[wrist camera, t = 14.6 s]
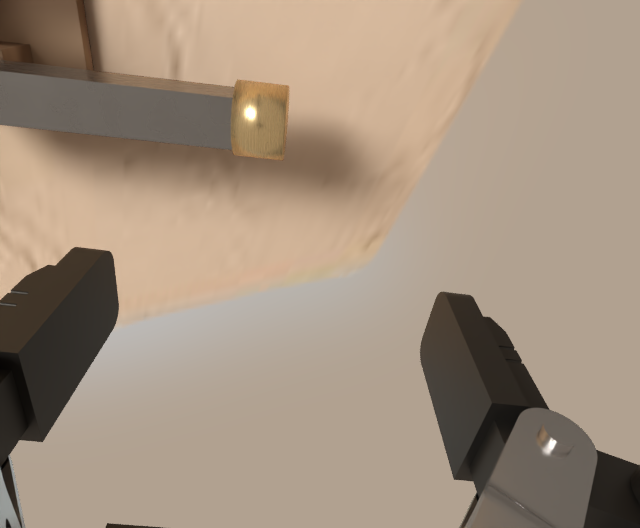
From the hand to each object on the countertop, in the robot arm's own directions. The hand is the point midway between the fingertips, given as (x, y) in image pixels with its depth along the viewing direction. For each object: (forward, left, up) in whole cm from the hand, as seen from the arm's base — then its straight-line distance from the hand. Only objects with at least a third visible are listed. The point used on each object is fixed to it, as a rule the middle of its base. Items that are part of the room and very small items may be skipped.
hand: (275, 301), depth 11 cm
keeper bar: (0, -12, -21) cm, 24 cm away
